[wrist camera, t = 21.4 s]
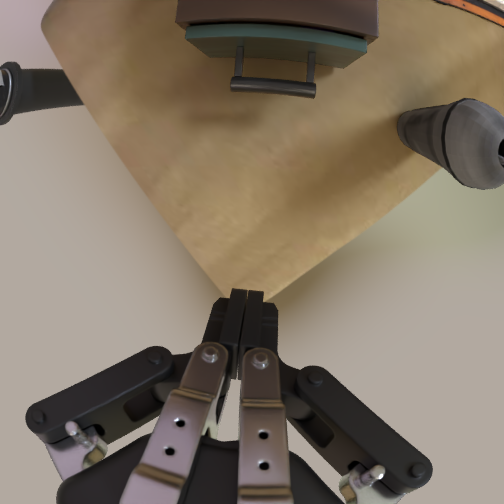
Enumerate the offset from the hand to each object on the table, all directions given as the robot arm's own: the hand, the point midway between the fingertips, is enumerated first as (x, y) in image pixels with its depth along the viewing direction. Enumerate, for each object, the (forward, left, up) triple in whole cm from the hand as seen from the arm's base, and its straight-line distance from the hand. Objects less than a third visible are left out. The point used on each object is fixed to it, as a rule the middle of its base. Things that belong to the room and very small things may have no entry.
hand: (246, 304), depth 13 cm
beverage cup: (+16, +10, -19) cm, 27 cm away
